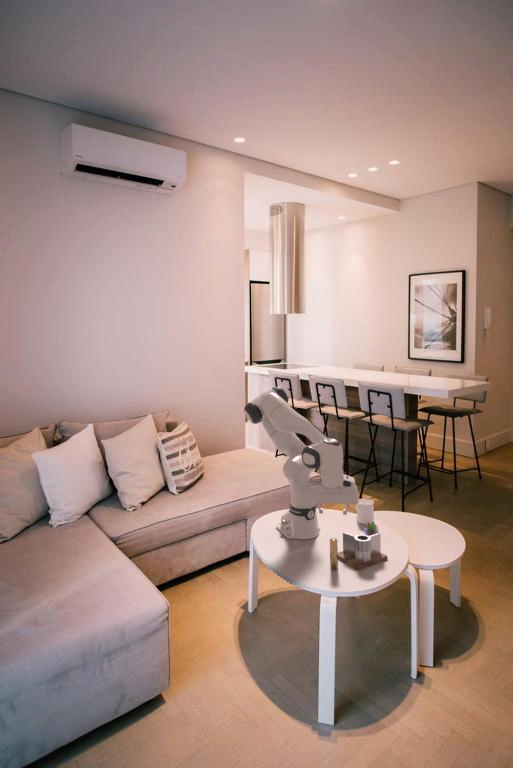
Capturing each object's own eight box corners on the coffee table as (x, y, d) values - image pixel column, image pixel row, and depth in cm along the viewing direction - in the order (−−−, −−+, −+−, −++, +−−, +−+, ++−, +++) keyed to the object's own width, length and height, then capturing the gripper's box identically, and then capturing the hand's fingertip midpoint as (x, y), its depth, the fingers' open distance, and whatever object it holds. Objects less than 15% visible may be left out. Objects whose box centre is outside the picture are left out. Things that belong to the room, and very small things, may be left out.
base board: (335, 557, 197) (335, 553, 197) (363, 547, 205) (363, 543, 205) (359, 570, 185) (359, 566, 185) (387, 559, 193) (387, 555, 193)
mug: (349, 517, 240) (349, 497, 239) (363, 514, 242) (363, 495, 241) (362, 525, 228) (362, 505, 227) (377, 523, 231) (376, 503, 230)
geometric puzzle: (383, 536, 210) (378, 519, 214) (369, 538, 208) (364, 521, 212) (377, 540, 216) (371, 523, 220) (363, 542, 214) (358, 525, 218)
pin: (328, 568, 188) (328, 539, 186) (334, 566, 189) (333, 537, 188) (333, 571, 185) (333, 542, 184) (339, 569, 187) (338, 540, 185)
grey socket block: (340, 552, 198) (340, 531, 197) (363, 544, 205) (362, 524, 204) (362, 564, 187) (362, 542, 186) (385, 555, 194) (385, 534, 193)
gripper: (304, 481, 183) (306, 515, 184) (358, 483, 178) (358, 518, 180) (306, 476, 189) (307, 509, 190) (358, 478, 184) (359, 512, 186)
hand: (333, 513), depth 185 cm, fingers open, 8 cm apart
